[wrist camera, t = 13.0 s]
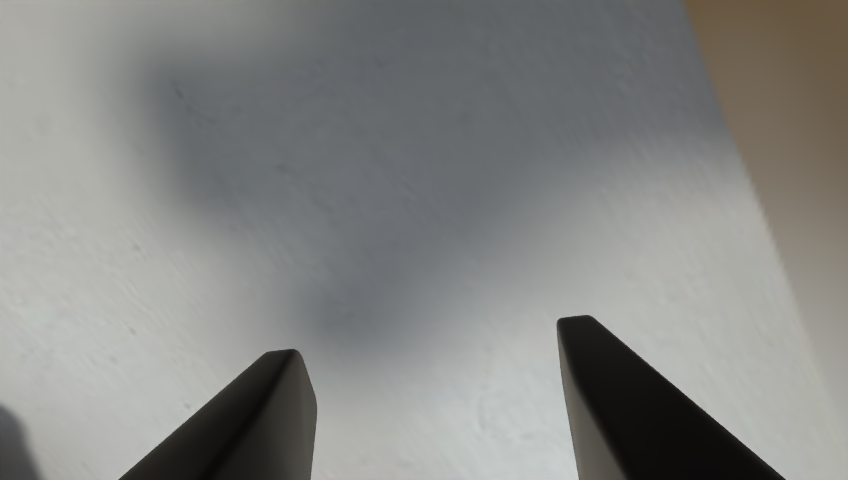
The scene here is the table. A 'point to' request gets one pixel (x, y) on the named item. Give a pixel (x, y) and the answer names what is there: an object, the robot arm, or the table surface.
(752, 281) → the table surface
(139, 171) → the table surface
